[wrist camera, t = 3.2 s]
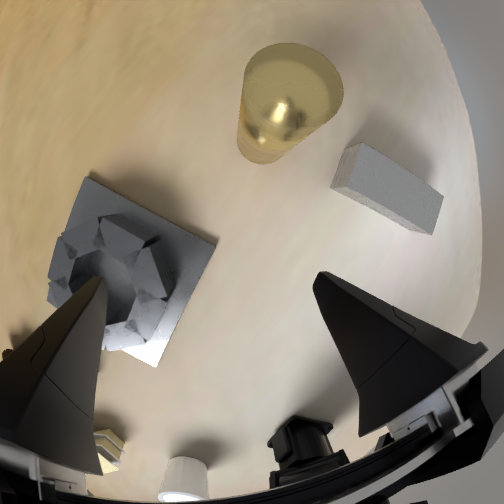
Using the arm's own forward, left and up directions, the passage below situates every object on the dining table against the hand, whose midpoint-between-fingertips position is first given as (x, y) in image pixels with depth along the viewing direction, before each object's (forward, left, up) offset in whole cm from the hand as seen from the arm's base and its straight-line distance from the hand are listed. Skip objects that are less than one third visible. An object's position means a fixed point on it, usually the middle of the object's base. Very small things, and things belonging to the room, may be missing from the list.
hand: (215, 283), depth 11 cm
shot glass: (-10, +32, -13) cm, 36 cm away
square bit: (-11, -11, -13) cm, 20 cm away
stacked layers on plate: (+3, +34, -14) cm, 37 cm away
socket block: (+7, +8, -13) cm, 17 cm away
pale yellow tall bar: (+1, -9, -13) cm, 16 cm away
